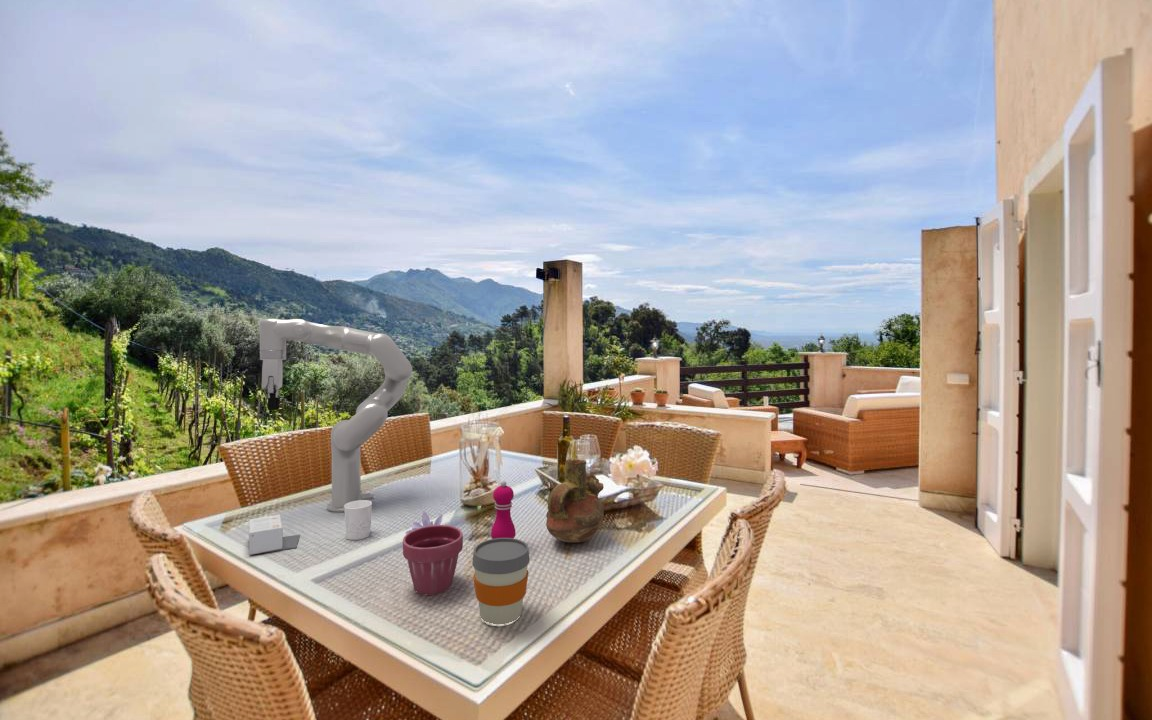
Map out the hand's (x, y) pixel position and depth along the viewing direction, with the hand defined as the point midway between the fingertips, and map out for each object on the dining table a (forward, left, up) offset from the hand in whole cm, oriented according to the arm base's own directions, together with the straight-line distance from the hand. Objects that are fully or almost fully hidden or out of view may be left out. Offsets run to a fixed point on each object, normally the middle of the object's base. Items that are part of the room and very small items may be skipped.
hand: (273, 409), depth 164 cm
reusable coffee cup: (-55, +88, -37) cm, 110 cm away
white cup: (-26, +28, -37) cm, 53 cm away
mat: (-4, +26, -37) cm, 45 cm away
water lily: (-43, +48, -37) cm, 75 cm away
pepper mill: (-65, +54, -37) cm, 92 cm away
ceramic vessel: (-88, +56, -37) cm, 111 cm away
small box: (0, +19, -34) cm, 39 cm away
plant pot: (-43, +69, -37) cm, 89 cm away
